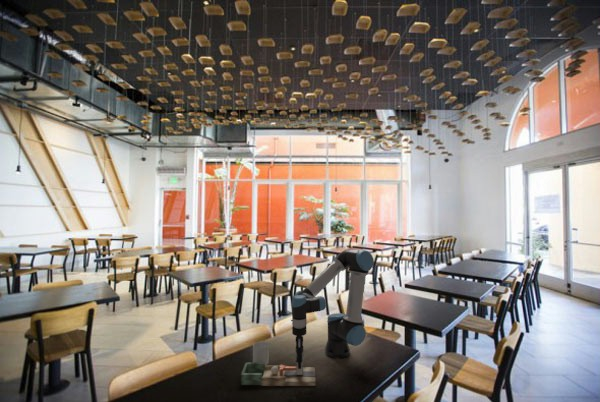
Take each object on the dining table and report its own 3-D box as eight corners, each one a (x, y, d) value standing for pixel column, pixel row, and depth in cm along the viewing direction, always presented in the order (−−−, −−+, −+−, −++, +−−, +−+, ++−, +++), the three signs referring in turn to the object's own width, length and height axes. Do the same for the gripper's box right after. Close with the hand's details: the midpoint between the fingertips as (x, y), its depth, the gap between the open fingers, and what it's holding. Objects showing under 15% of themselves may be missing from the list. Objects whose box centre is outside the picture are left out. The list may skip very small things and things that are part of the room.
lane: (314, 371, 158) (314, 361, 159) (315, 385, 144) (315, 375, 145) (246, 371, 159) (246, 361, 159) (240, 385, 145) (240, 375, 145)
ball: (278, 372, 154) (278, 364, 154) (278, 376, 150) (278, 368, 150) (271, 372, 154) (271, 364, 154) (270, 376, 150) (270, 368, 150)
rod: (303, 370, 154) (303, 344, 155) (303, 375, 149) (303, 348, 150) (280, 370, 154) (280, 344, 155) (279, 375, 149) (279, 348, 150)
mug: (269, 367, 163) (269, 347, 164) (253, 369, 161) (253, 348, 161) (266, 357, 174) (266, 338, 175) (251, 359, 172) (252, 340, 173)
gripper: (292, 320, 162) (293, 364, 160) (291, 332, 145) (291, 380, 143) (306, 320, 162) (306, 364, 160) (306, 332, 145) (307, 380, 143)
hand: (299, 371), depth 152 cm, fingers closed on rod, 4 cm apart
